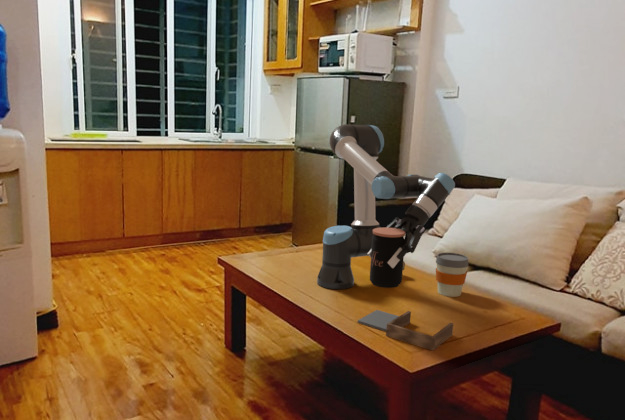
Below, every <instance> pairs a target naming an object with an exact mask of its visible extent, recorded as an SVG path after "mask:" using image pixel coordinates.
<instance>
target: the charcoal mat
mask: <svg viewBox="0 0 625 420" xmlns="http://www.w3.org/2000/svg"><path fill="white" fill-rule="evenodd" d="M399 316H400V315H396V314H393V313H389V312H386V311H382V310H379V309H376V310H374V311H373V312H370V313H369V314H367V315H365V316H363V317H361V318H360V319H358V320H357V321H356V322H357V324H361V325H364V326H367V327H369V328H370V327H371V328H373V329H377V330H380V331H383V332H386V329H387V324H388V323H389V322H391V321H393V320H394V319H396V318H397V317H399Z"/></svg>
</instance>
